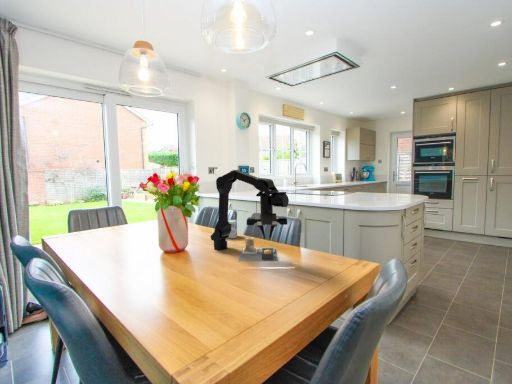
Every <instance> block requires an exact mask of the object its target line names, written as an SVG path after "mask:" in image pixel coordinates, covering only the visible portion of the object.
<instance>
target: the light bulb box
mask: <svg viewBox="0 0 512 384" xmlns="http://www.w3.org/2000/svg"><path fill="white" fill-rule="evenodd" d="M228 222H229V224H231V225H232V226H231V230H232V231H231V232H230V234H229V237H228V238H227V239H236V238H237V236H238V222H237V219H228Z"/></svg>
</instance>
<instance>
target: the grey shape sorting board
mask: <svg viewBox="0 0 512 384" xmlns="http://www.w3.org/2000/svg"><path fill="white" fill-rule="evenodd" d="M264 250H271V254H264ZM277 251H278V250H277V248H275V247H261V248H258V247H254V252H246V247H243V249H241V252H240V255H239V257H238V262H277V261H278V252H277Z"/></svg>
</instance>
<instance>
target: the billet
mask: <svg viewBox="0 0 512 384" xmlns="http://www.w3.org/2000/svg"><path fill="white" fill-rule="evenodd" d="M245 248H246V252H254V248H255V237H253V236H251V237H245Z"/></svg>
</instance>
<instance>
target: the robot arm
mask: <svg viewBox="0 0 512 384" xmlns="http://www.w3.org/2000/svg"><path fill="white" fill-rule="evenodd" d="M236 181H241V182H243V183H246V184H249V185H251V186H253V187H254V188H255V189H257V191H258V193H256V194H255V196H256V197H259V199H260V200H259V202H260V203H259V204H260V205H259V206H260V207H259V209H260V214H259V215H260V218H257V217H256V216H255V217H253V216H251V217H247V218H246V226H255V224H256V227H258V228H259V229H260V231H261V233H262V236H263V237H262V238H263V240H266V231H265V225H269V226H270V229H269V234H268V236H269V240H271V238H272V236H273V231H274V229H275V228H276V227H278V224H279V225H288V218H287V216H278V218H277V213H276V212H275V213H274V210H273V207H277V208H287V207H288V206H289V203H290V201H289V200H290V199H289V197H288V194H287V192H286V191H282V192H279V189H278V188H277V187H276V185H275V183H274V180H272V179H271V178H267V177H264V178H263V177H257V176H255V175H252V174H249V173H246V172H244V171H241V170H240V169H232V170H230V171H229V172H228V173H225V174H223V175H221V176H219V177H217V178H216V180H215V186H216V189H217V192H218V216H217V217H218V218H217V219H218V220H217V222H216V223H215V226H214V231H213V233H211V235H210V240H211V241H213V250H215V251H223V250H228V246H229V243H228V240H227V239H229V238H228V237H229V234H230V232H231V231H232V230H231V226H232V225H231V224H229V222H228V220H229V219H228V216H229V194H230V193H231V190H232V188H233V185H234V183H235V182H236Z"/></svg>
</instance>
